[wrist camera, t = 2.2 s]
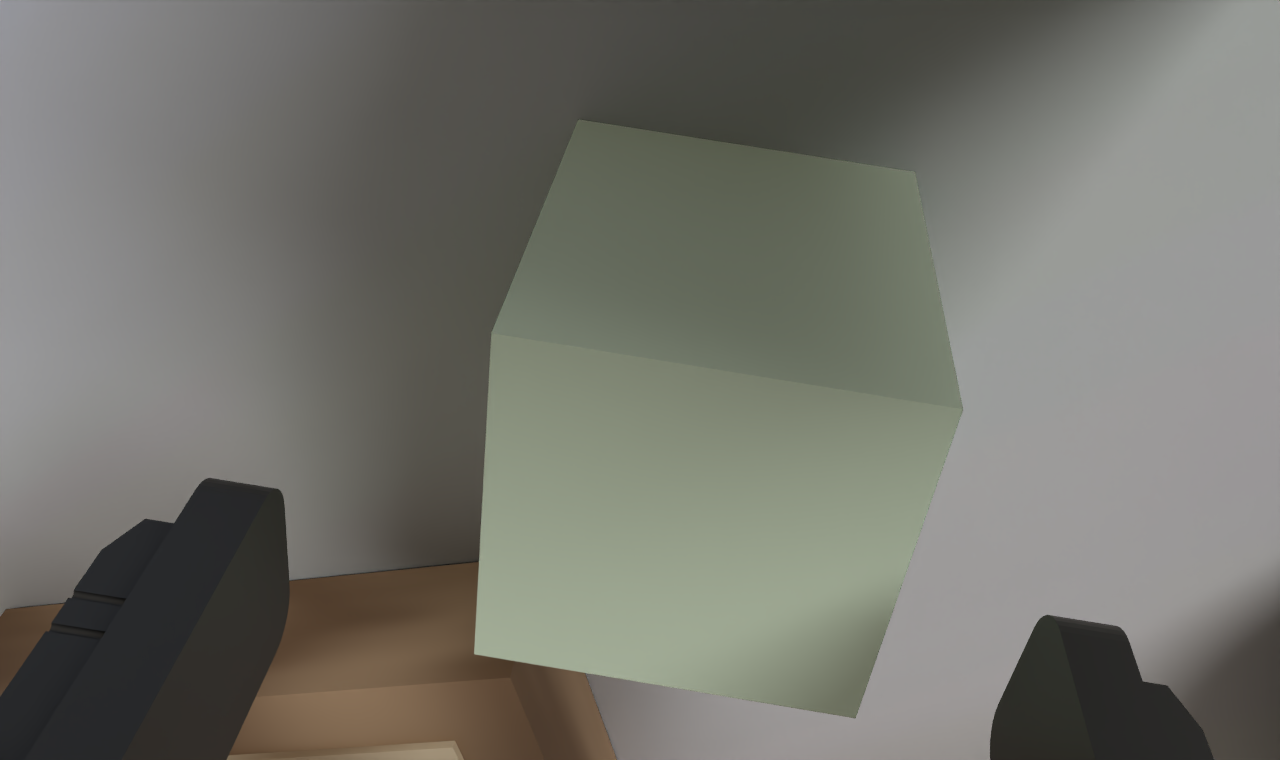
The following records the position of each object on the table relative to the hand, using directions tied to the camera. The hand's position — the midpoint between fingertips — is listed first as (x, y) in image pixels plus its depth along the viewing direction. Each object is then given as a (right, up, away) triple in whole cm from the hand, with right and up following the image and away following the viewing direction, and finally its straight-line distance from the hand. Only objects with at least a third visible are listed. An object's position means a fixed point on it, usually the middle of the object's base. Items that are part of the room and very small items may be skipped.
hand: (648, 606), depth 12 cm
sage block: (+1, +4, +6) cm, 7 cm away
